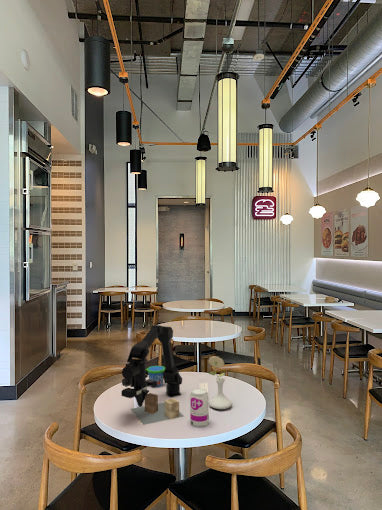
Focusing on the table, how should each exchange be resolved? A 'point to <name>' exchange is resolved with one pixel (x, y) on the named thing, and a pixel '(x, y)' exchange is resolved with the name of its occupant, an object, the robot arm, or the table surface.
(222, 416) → the table surface
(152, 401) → the walnut block
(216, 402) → the flower in vase
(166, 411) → the oak block
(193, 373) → the table surface
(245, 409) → the table surface
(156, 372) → the snack cup
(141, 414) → the slate mat
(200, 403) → the supplement can
